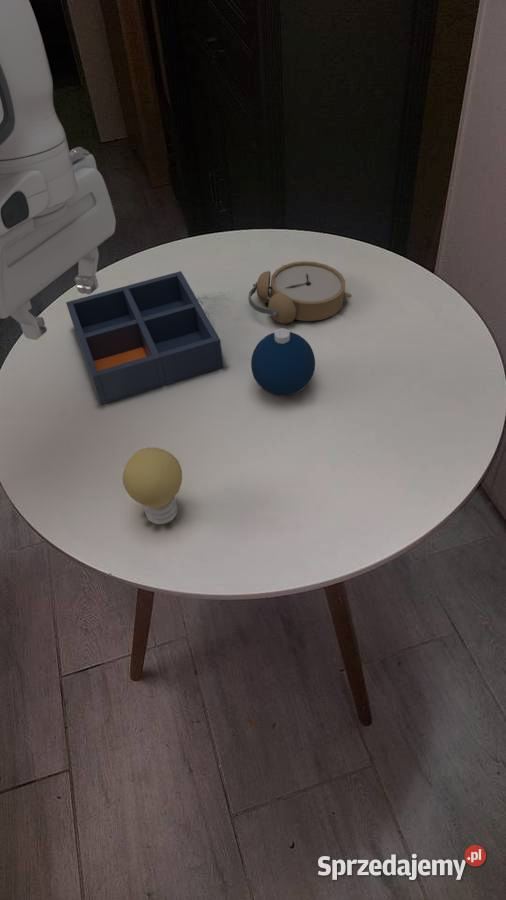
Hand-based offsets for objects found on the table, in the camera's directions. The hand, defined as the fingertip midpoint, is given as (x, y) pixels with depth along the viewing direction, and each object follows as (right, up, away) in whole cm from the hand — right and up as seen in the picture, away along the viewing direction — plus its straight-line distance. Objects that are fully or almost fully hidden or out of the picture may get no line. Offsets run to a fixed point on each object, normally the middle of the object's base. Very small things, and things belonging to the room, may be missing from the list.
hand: (63, 312), depth 71 cm
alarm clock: (+26, +8, +34) cm, 44 cm away
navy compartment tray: (+4, +1, +29) cm, 29 cm away
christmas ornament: (+24, -6, +22) cm, 33 cm away
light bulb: (+9, -22, +9) cm, 25 cm away
